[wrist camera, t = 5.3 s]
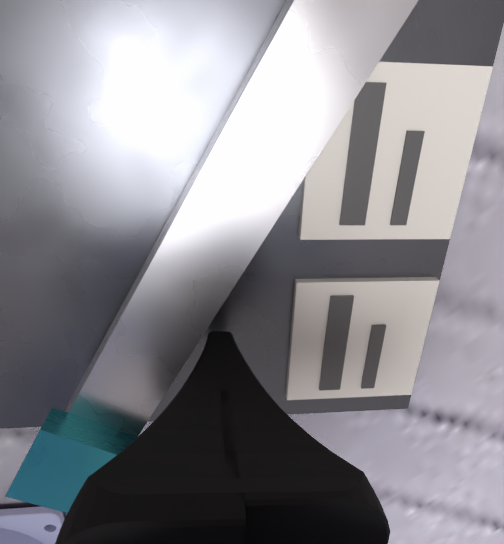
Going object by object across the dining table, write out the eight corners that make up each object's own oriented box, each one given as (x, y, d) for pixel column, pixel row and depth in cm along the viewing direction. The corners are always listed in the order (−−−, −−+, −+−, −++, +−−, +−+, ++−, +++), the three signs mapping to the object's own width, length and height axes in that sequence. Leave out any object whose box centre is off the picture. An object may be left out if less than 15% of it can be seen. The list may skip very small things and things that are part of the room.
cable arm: (288, -42, 9) (341, -144, 5) (374, 30, 9) (473, -16, 6) (61, 391, 13) (2, 501, 9) (133, 417, 14) (104, 528, 10)
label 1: (444, 236, 13) (451, 240, 12) (298, 236, 12) (300, 240, 12) (485, 67, 11) (495, 66, 10) (312, 60, 10) (316, 58, 10)
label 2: (407, 389, 15) (412, 396, 15) (285, 394, 15) (287, 402, 14) (434, 276, 13) (441, 281, 13) (295, 279, 13) (297, 283, 12)
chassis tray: (397, 391, 17) (407, 408, 16) (-211, 419, 14) (-240, 440, 13) (515, -126, 10) (546, -149, 9) (-607, -232, 8) (-720, -279, 7)
